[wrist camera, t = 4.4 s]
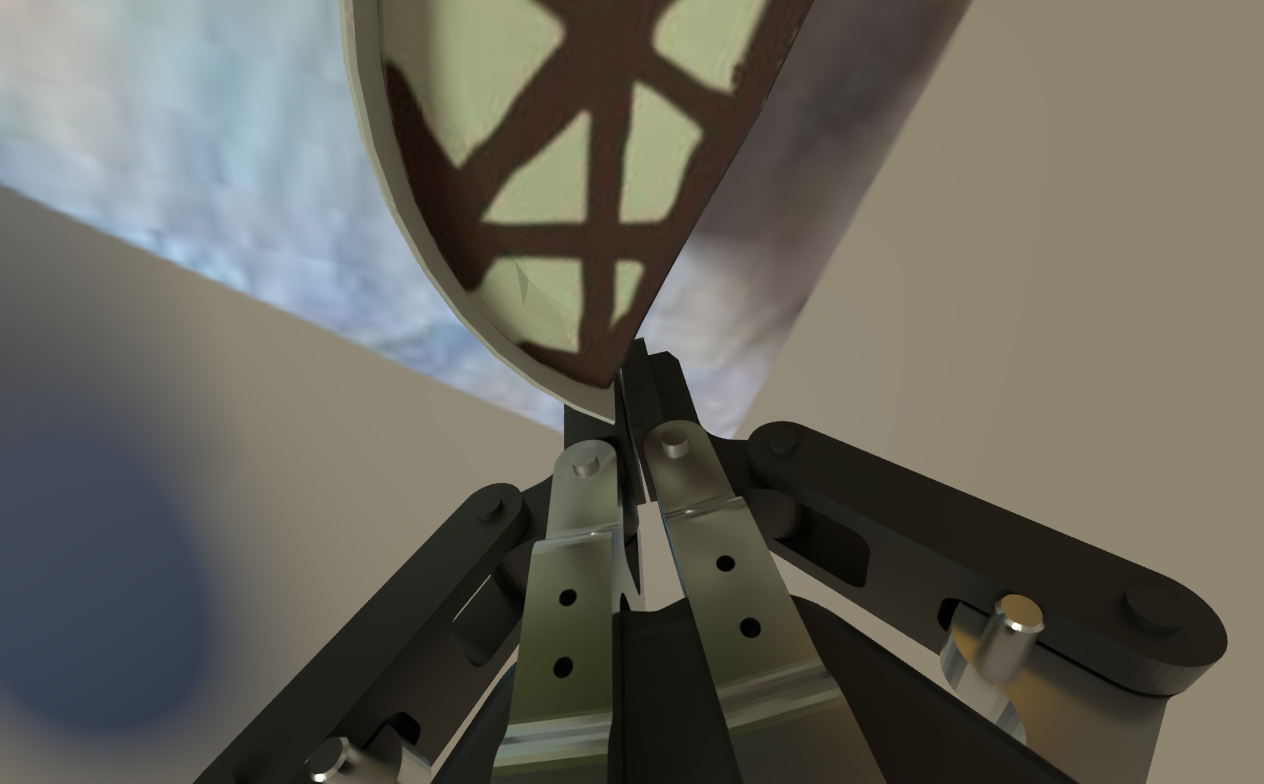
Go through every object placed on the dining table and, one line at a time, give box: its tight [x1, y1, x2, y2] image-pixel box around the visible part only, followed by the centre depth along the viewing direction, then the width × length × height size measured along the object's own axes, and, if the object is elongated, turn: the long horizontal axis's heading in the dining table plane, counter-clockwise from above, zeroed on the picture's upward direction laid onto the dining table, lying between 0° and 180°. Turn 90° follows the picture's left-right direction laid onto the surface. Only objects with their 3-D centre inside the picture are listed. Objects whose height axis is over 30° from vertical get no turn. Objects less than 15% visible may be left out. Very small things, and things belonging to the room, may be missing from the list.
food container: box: [339, 0, 814, 425], centre depth 10 cm, size 12×6×10 cm, turn 155°
